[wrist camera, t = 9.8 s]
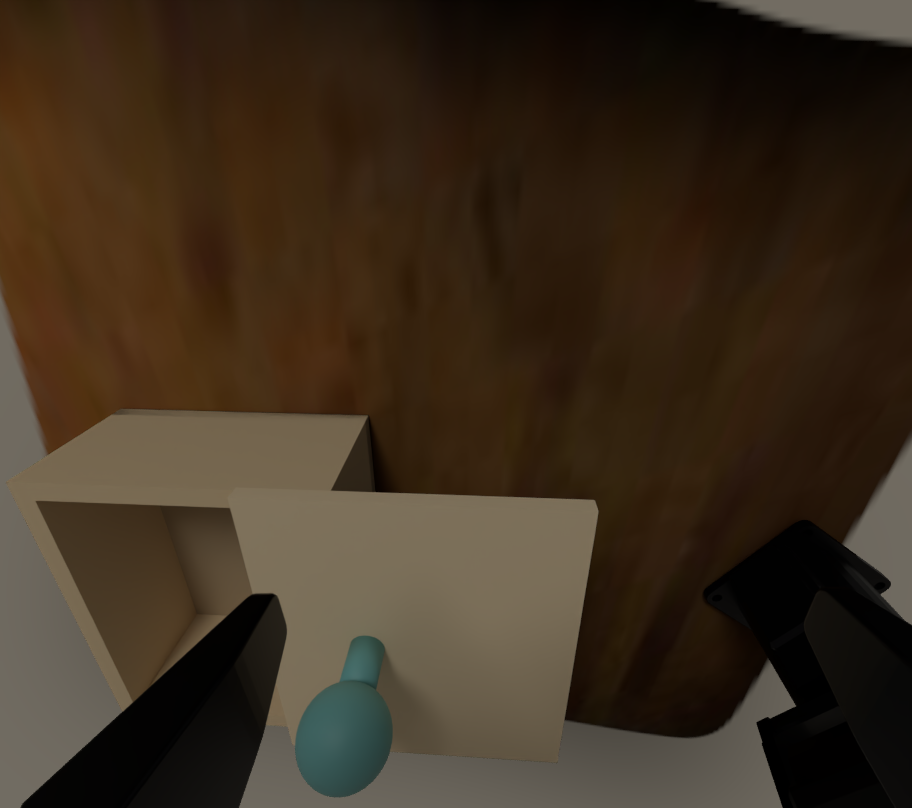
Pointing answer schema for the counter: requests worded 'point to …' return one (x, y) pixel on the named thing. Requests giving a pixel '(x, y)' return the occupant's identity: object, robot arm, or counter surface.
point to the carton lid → (418, 622)
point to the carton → (171, 522)
